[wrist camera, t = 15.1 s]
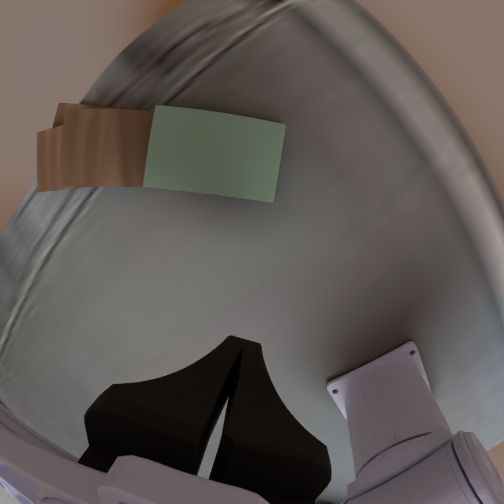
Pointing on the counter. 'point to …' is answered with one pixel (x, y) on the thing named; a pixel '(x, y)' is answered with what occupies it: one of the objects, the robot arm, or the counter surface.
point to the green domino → (214, 153)
